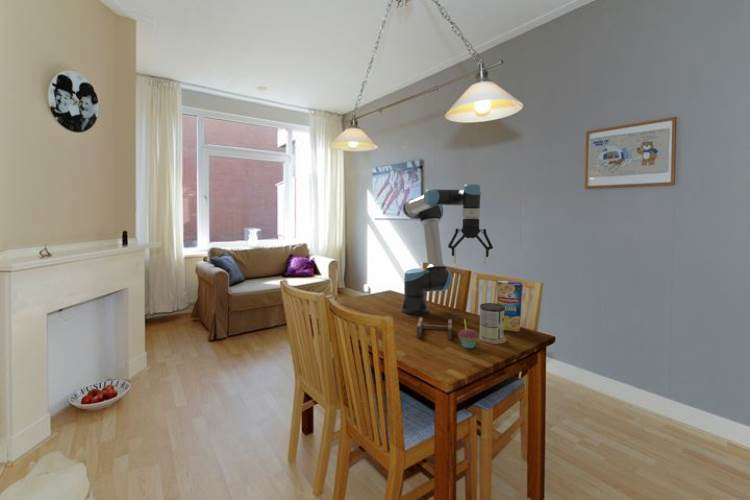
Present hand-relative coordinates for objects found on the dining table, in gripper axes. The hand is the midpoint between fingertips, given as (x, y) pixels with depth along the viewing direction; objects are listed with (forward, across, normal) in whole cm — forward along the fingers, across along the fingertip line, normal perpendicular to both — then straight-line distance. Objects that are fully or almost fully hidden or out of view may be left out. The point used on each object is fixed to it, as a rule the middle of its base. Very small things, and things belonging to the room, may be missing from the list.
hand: (469, 263), depth 170 cm
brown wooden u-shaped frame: (+31, -15, -11) cm, 37 cm away
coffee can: (+31, +10, -13) cm, 35 cm away
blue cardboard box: (+32, +19, +4) cm, 37 cm away
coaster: (+31, +10, -13) cm, 35 cm away
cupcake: (+31, 0, -24) cm, 39 cm away
